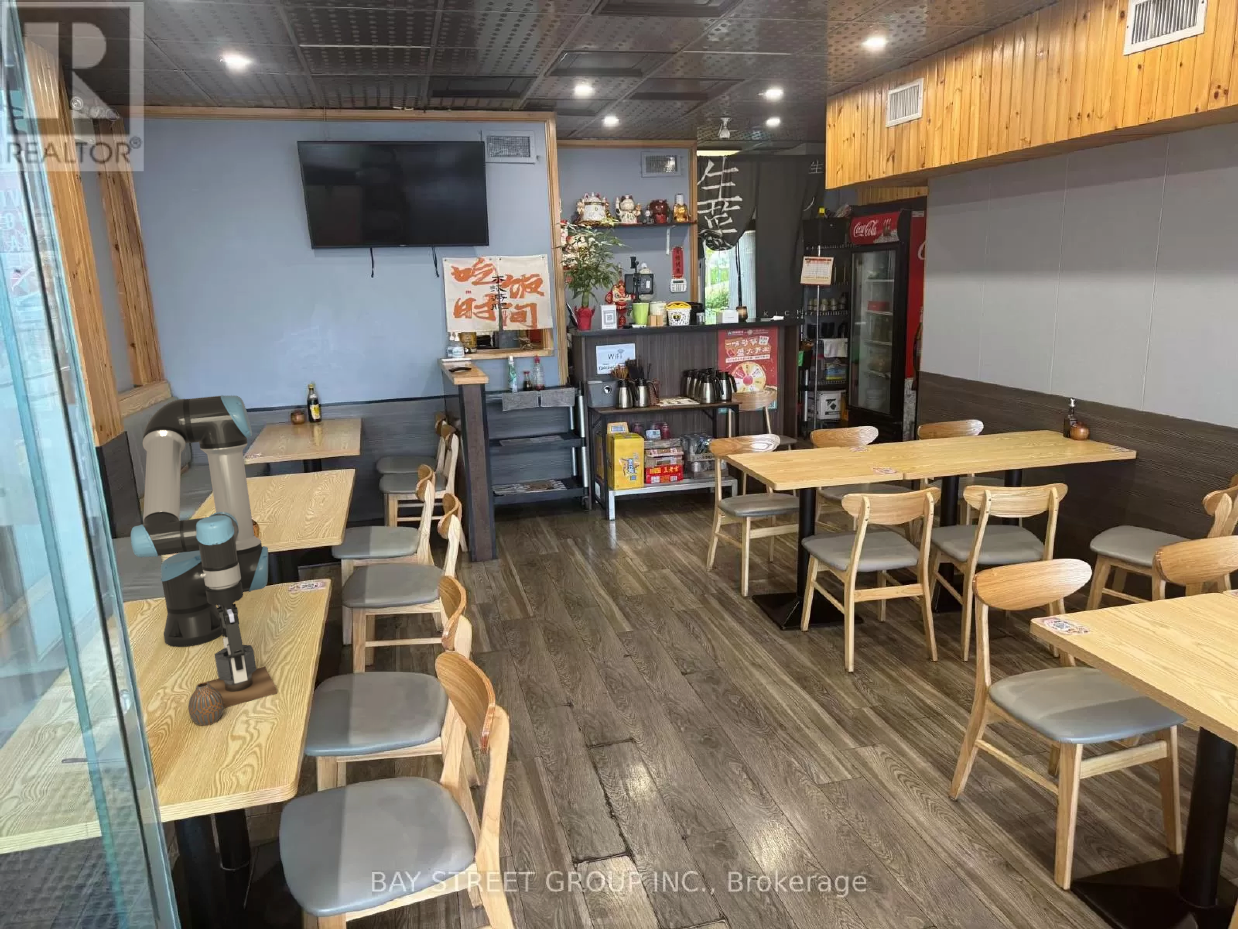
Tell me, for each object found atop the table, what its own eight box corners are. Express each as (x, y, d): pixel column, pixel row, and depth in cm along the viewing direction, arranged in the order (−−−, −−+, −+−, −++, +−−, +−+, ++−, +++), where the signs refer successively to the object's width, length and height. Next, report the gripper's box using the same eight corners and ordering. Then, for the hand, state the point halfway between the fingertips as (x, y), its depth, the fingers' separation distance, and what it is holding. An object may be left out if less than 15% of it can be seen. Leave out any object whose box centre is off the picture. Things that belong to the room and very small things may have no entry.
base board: (203, 687, 199) (202, 682, 198) (265, 670, 206) (265, 666, 205) (211, 711, 187) (210, 706, 187) (276, 693, 194) (276, 688, 194)
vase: (216, 709, 188) (211, 674, 186) (231, 719, 183) (225, 682, 181) (185, 722, 183) (179, 686, 181) (200, 732, 178) (193, 695, 176)
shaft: (223, 684, 197) (216, 643, 195) (250, 677, 200) (244, 636, 198) (227, 694, 192) (220, 652, 190) (254, 686, 195) (248, 645, 193)
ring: (216, 670, 196) (213, 650, 195) (252, 661, 201) (249, 641, 200) (220, 683, 190) (217, 663, 189) (258, 673, 194) (255, 653, 193)
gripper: (199, 573, 198) (212, 657, 203) (212, 603, 179) (226, 696, 184) (233, 566, 202) (245, 649, 207) (249, 595, 183) (263, 686, 187)
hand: (236, 671), depth 195 cm, fingers open, 11 cm apart
